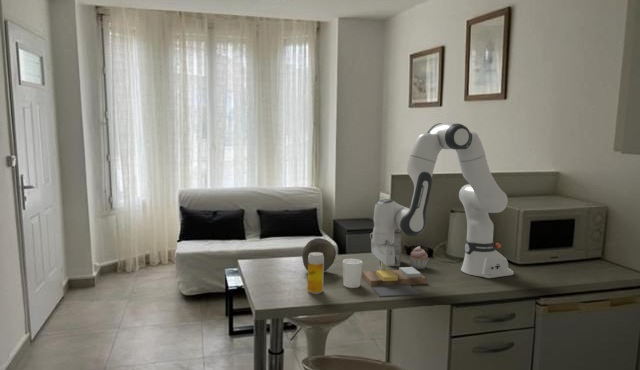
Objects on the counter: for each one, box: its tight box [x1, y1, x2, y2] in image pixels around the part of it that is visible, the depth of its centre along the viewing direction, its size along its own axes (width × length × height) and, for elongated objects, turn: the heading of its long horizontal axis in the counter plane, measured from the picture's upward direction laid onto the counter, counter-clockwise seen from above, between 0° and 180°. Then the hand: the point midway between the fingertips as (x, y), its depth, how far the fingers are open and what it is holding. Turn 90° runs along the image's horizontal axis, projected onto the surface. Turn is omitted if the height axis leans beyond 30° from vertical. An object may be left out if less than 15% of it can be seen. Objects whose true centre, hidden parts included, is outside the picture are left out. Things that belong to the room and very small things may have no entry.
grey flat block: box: [398, 266, 422, 278], centre depth 200 cm, size 6×9×2 cm, turn 12°
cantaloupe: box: [301, 237, 337, 272], centre depth 206 cm, size 14×14×15 cm
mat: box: [370, 284, 421, 298], centre depth 186 cm, size 16×11×1 cm
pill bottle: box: [307, 252, 325, 295], centre depth 183 cm, size 6×6×15 cm
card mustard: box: [375, 269, 398, 281], centre depth 195 cm, size 6×9×2 cm, turn 12°
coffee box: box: [392, 229, 403, 267], centre depth 223 cm, size 9×6×16 cm
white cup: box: [342, 258, 363, 289], centre depth 191 cm, size 8×8×10 cm
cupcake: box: [408, 245, 430, 270], centre depth 217 cm, size 9×9×10 cm
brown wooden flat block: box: [361, 269, 428, 288], centre depth 199 cm, size 24×12×2 cm, turn 102°
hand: (382, 270), depth 201 cm, fingers closed
